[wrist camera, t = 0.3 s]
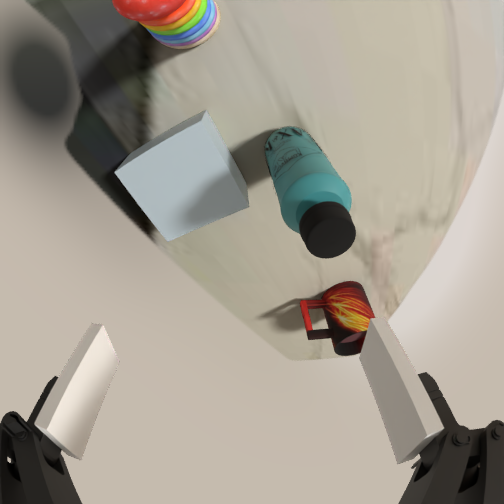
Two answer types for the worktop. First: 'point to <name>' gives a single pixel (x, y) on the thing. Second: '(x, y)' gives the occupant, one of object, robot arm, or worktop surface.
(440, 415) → the robot arm
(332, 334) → the mug
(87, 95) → the worktop surface
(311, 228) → the beverage bottle
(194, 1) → the stacking toy
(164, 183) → the block
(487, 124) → the worktop surface
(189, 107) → the worktop surface
